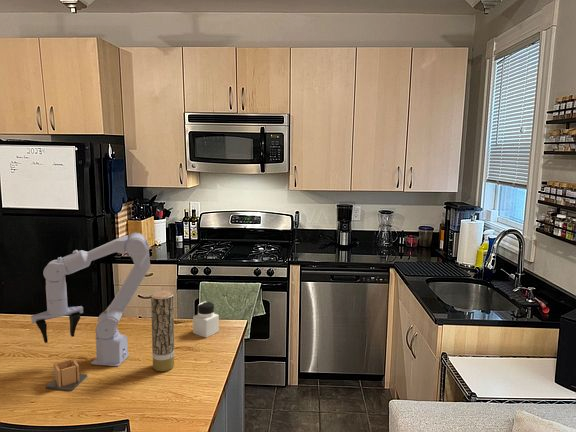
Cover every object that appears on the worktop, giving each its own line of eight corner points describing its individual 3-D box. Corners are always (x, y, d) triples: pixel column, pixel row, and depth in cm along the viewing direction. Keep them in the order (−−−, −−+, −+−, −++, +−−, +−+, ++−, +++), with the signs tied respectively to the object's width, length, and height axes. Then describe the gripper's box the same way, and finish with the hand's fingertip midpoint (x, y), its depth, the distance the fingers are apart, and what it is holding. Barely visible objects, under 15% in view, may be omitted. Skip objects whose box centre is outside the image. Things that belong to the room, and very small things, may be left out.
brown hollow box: (79, 381, 128) (78, 365, 127) (59, 387, 124) (58, 371, 123) (74, 373, 132) (73, 358, 131) (54, 379, 128) (53, 363, 127)
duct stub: (87, 376, 132) (86, 363, 131) (71, 390, 124) (71, 377, 123) (62, 374, 132) (62, 361, 132) (46, 388, 124) (45, 375, 124)
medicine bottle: (219, 331, 167) (219, 302, 165) (206, 338, 161) (206, 308, 159) (205, 327, 170) (205, 298, 169) (192, 333, 164) (192, 304, 163)
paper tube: (154, 374, 134) (152, 298, 130) (151, 364, 140) (150, 291, 137) (175, 370, 137) (174, 296, 133) (172, 360, 143) (171, 289, 139)
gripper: (78, 290, 142) (80, 328, 144) (28, 299, 133) (31, 340, 135) (84, 296, 136) (85, 336, 138) (32, 305, 127) (35, 348, 129)
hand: (59, 338), depth 136 cm, fingers open, 7 cm apart
